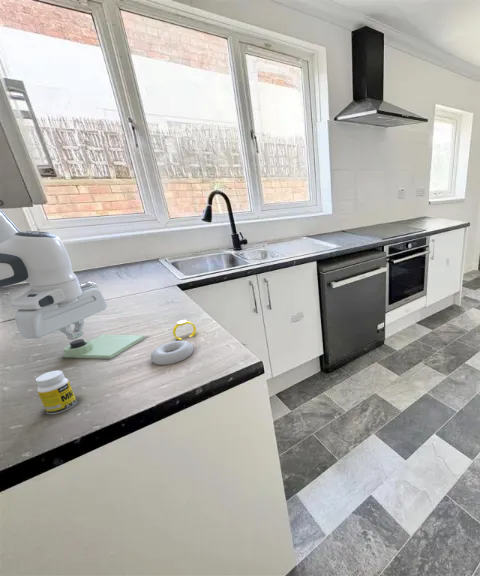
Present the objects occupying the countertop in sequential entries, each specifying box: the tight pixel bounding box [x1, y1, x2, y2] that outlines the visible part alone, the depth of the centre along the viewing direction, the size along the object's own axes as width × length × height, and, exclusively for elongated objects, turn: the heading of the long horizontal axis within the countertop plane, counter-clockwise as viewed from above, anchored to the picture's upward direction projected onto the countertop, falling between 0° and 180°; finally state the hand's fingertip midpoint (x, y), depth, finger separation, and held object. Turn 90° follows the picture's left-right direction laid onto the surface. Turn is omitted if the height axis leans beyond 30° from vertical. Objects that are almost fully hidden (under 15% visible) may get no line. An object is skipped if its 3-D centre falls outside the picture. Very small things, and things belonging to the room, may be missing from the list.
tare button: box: [69, 338, 86, 349], centre depth 88 cm, size 3×3×2 cm
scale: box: [63, 334, 146, 360], centre depth 92 cm, size 14×12×3 cm
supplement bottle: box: [35, 369, 78, 415], centre depth 66 cm, size 5×5×8 cm
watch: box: [172, 319, 197, 341], centre depth 96 cm, size 6×3×6 cm, turn 136°
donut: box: [150, 340, 194, 366], centre depth 86 cm, size 10×4×10 cm
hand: (76, 337), depth 88 cm, fingers closed
